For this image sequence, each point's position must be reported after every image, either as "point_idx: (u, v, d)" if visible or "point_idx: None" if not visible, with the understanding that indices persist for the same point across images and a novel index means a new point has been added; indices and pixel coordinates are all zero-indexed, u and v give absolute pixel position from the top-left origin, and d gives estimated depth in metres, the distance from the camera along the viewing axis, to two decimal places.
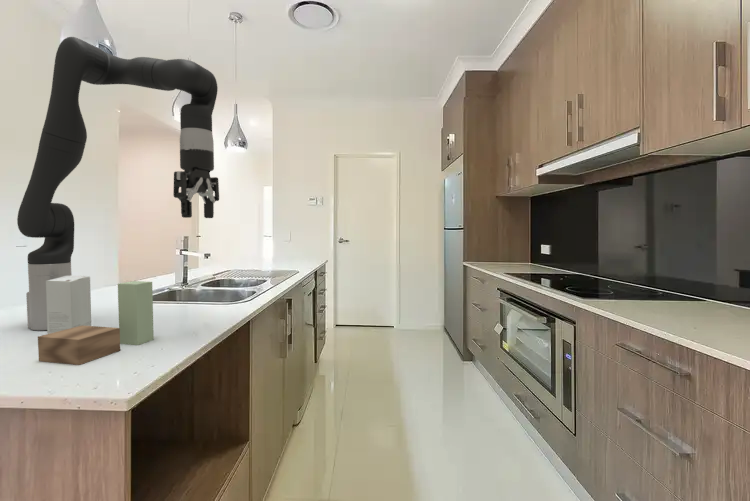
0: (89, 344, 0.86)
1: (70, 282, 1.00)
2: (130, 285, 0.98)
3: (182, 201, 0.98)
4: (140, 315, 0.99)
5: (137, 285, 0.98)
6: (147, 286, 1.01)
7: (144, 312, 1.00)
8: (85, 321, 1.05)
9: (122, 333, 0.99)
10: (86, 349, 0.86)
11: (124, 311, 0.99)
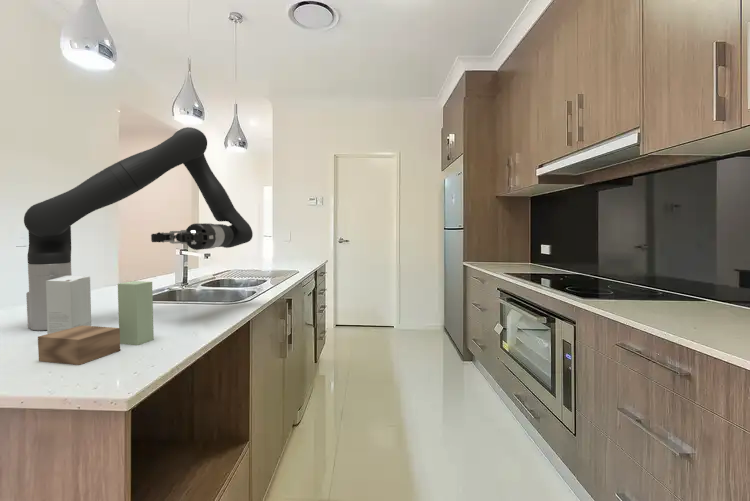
0: (89, 344, 0.86)
1: (70, 282, 1.00)
2: (130, 285, 0.98)
3: (193, 236, 1.13)
4: (140, 315, 0.99)
5: (137, 285, 0.98)
6: (147, 286, 1.01)
7: (144, 312, 1.00)
8: (85, 321, 1.05)
9: (122, 333, 0.99)
10: (86, 349, 0.86)
11: (124, 311, 0.99)
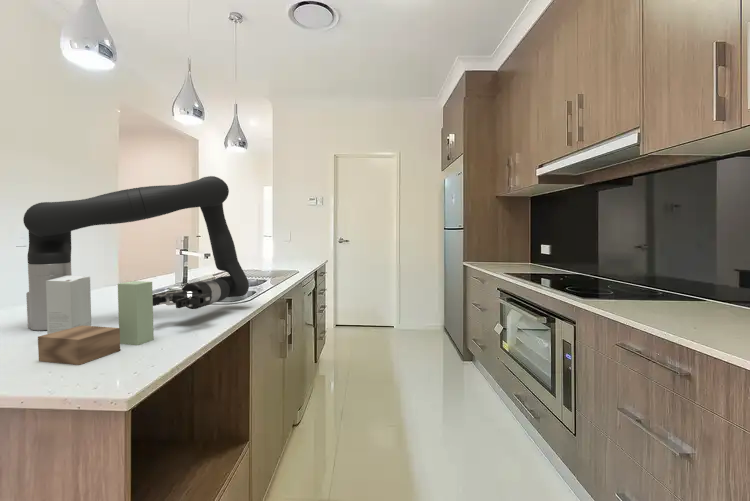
0: (89, 344, 0.86)
1: (70, 282, 1.00)
2: (130, 285, 0.98)
3: (190, 301, 1.12)
4: (140, 315, 0.99)
5: (137, 285, 0.98)
6: (147, 286, 1.01)
7: (144, 312, 1.00)
8: (85, 321, 1.05)
9: (122, 333, 0.99)
10: (86, 349, 0.86)
11: (124, 311, 0.99)
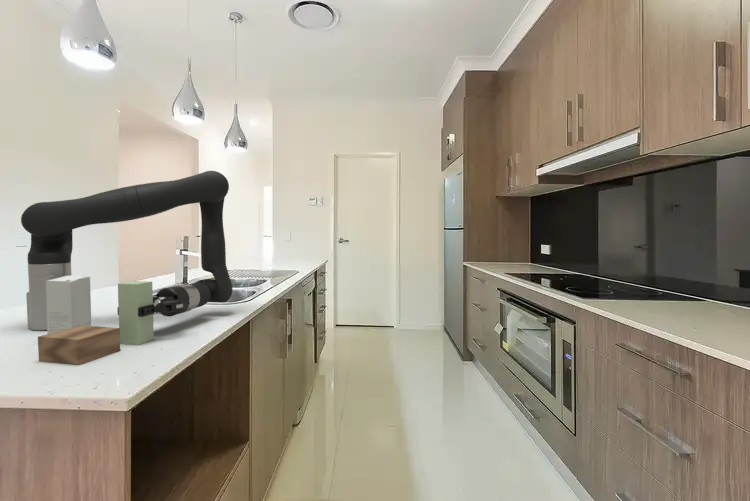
0: (89, 344, 0.86)
1: (70, 282, 1.00)
2: (130, 285, 0.98)
3: (154, 308, 1.01)
4: None
5: (137, 285, 0.98)
6: (147, 286, 1.01)
7: None
8: (85, 321, 1.05)
9: (122, 333, 0.99)
10: (86, 349, 0.86)
11: (124, 311, 0.99)
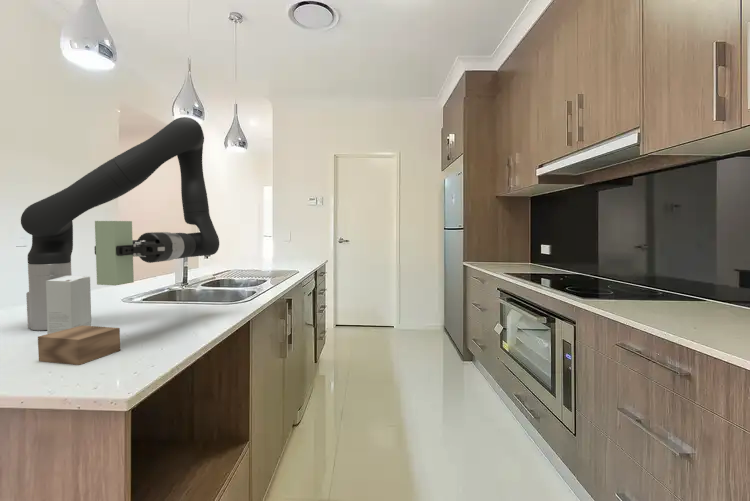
0: (89, 344, 0.86)
1: (70, 282, 1.00)
2: (108, 222, 0.93)
3: (134, 249, 0.96)
4: None
5: (115, 222, 0.93)
6: (126, 225, 0.96)
7: None
8: (85, 321, 1.05)
9: (99, 273, 0.94)
10: (86, 349, 0.86)
11: (101, 250, 0.94)
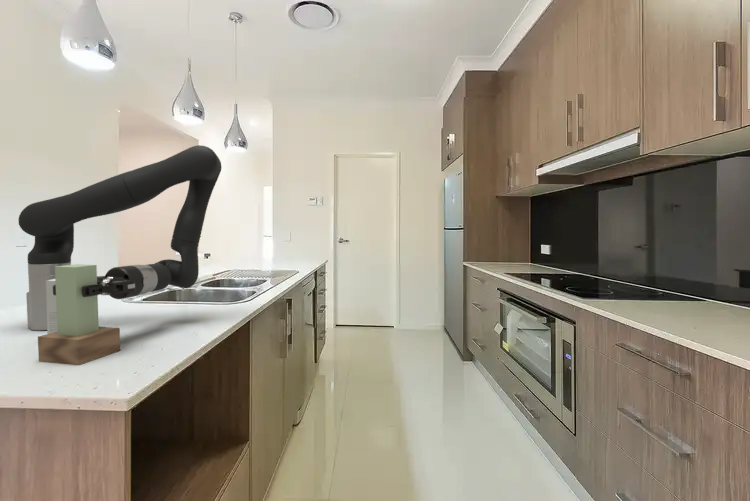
0: (89, 344, 0.86)
1: None
2: (68, 268, 0.86)
3: (103, 288, 0.90)
4: (81, 303, 0.87)
5: (76, 268, 0.86)
6: (90, 270, 0.89)
7: (86, 299, 0.88)
8: None
9: (60, 323, 0.87)
10: (86, 349, 0.86)
11: (62, 298, 0.87)
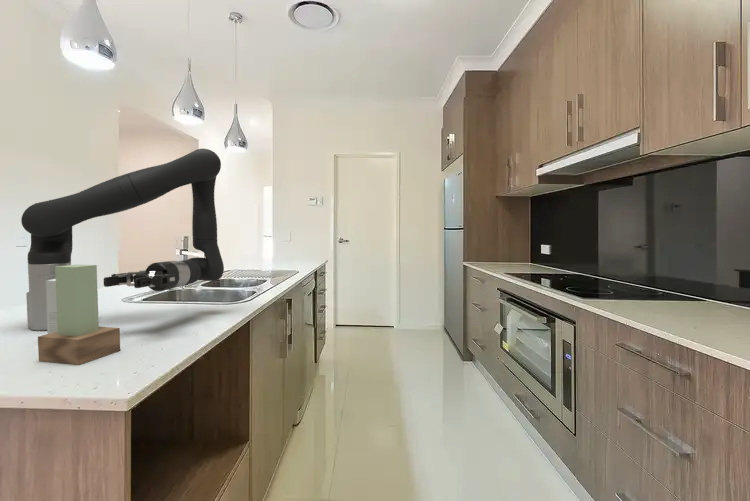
0: (89, 344, 0.86)
1: None
2: (69, 268, 0.86)
3: (151, 280, 1.02)
4: (81, 303, 0.87)
5: (77, 268, 0.86)
6: (90, 270, 0.89)
7: (86, 299, 0.88)
8: None
9: (60, 323, 0.87)
10: (86, 349, 0.86)
11: (62, 298, 0.87)
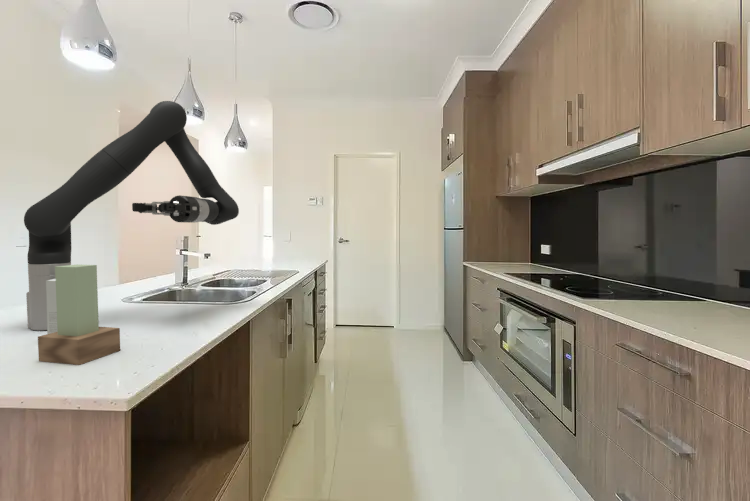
0: (89, 344, 0.86)
1: None
2: (69, 268, 0.86)
3: (176, 206, 1.10)
4: (81, 303, 0.87)
5: (77, 268, 0.86)
6: (90, 270, 0.89)
7: (86, 299, 0.88)
8: None
9: (60, 323, 0.87)
10: (86, 349, 0.86)
11: (62, 298, 0.87)
